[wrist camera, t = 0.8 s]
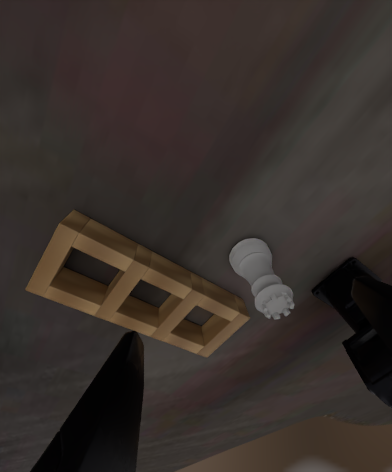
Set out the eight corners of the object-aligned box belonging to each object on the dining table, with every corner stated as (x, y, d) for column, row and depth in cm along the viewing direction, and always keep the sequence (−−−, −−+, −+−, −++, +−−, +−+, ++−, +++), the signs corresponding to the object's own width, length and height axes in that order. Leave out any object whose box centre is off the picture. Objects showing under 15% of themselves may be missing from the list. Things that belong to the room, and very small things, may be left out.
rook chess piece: (241, 276, 26) (268, 335, 19) (220, 252, 24) (240, 307, 17) (274, 254, 25) (315, 308, 18) (254, 228, 23) (291, 276, 16)
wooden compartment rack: (243, 299, 28) (250, 318, 25) (203, 337, 30) (206, 357, 28) (73, 209, 20) (59, 222, 17) (41, 270, 23) (24, 290, 20)
